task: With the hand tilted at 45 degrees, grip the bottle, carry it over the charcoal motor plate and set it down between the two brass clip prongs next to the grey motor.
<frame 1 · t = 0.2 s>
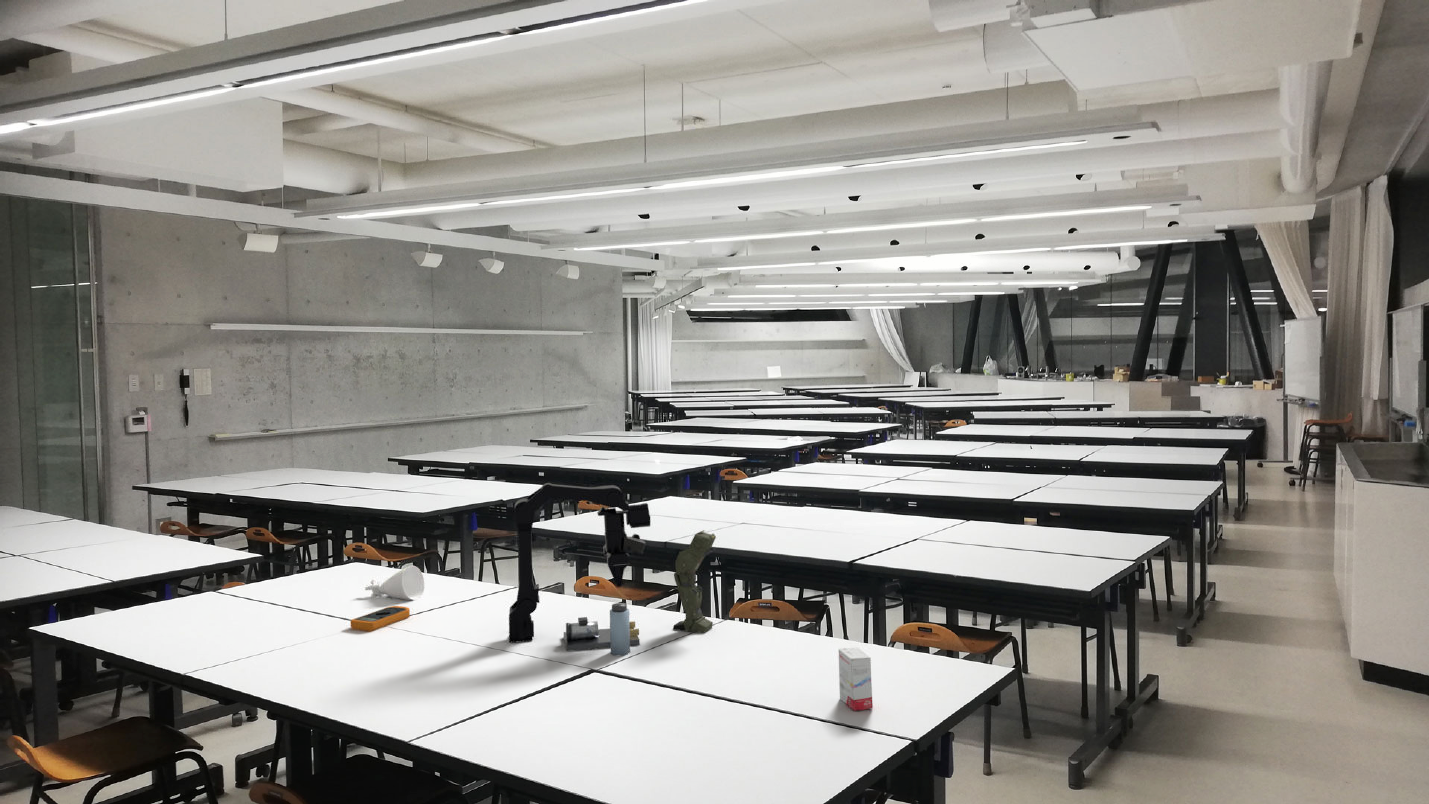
hand: (617, 582, 270), 14 cm above the table, tool pointing down, fingers open, 9 cm apart
rocket engine: (397, 597, 317), on the table
bottle: (620, 652, 251), on the table
multimeter: (381, 624, 284), on the table
motor plate: (601, 641, 262), on the table
ink box: (855, 705, 211), on the table
mechanical leg: (695, 629, 272), on the table
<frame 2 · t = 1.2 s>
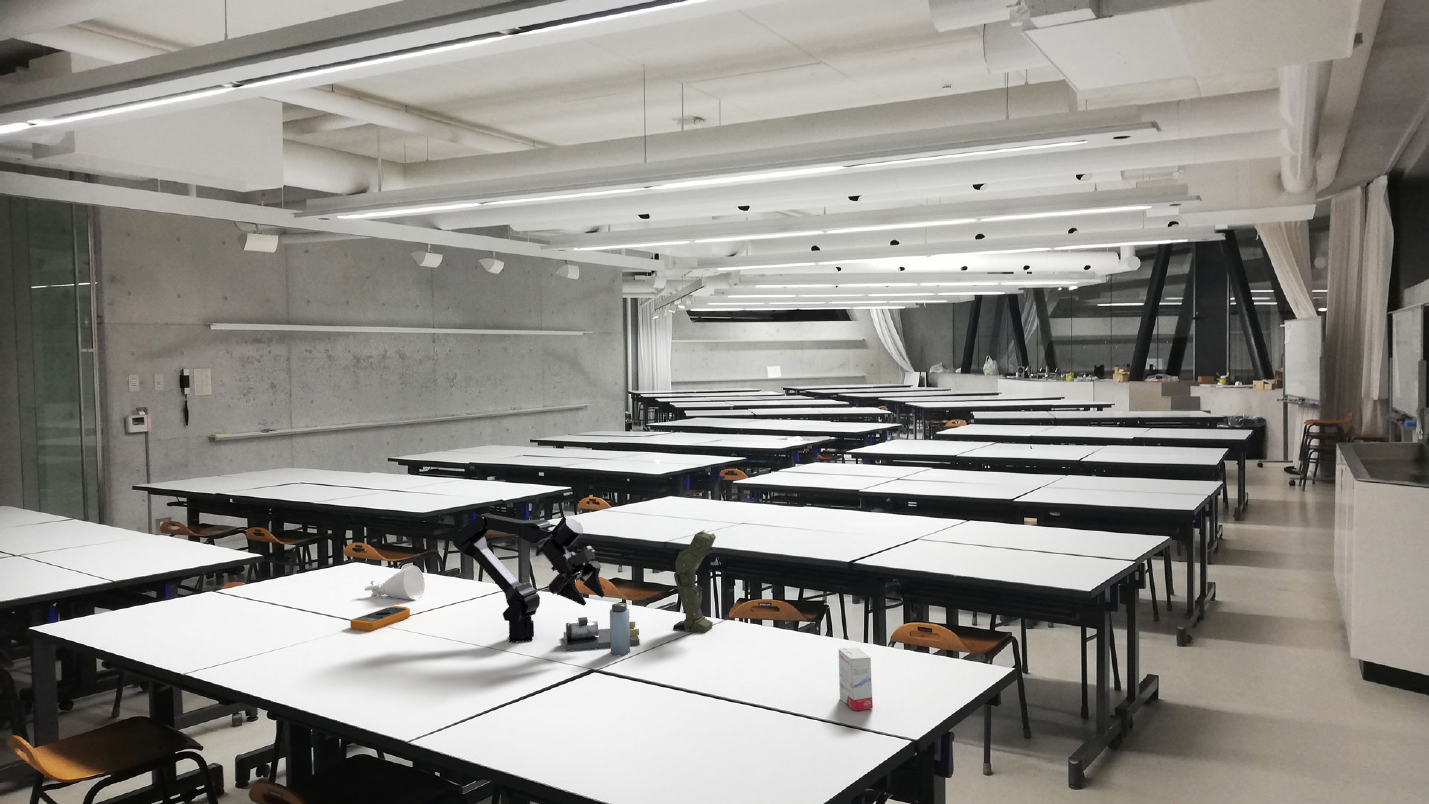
hand: (594, 600, 254), 13 cm above the table, tool tilted 45°, fingers open, 9 cm apart
nothing on the table moved.
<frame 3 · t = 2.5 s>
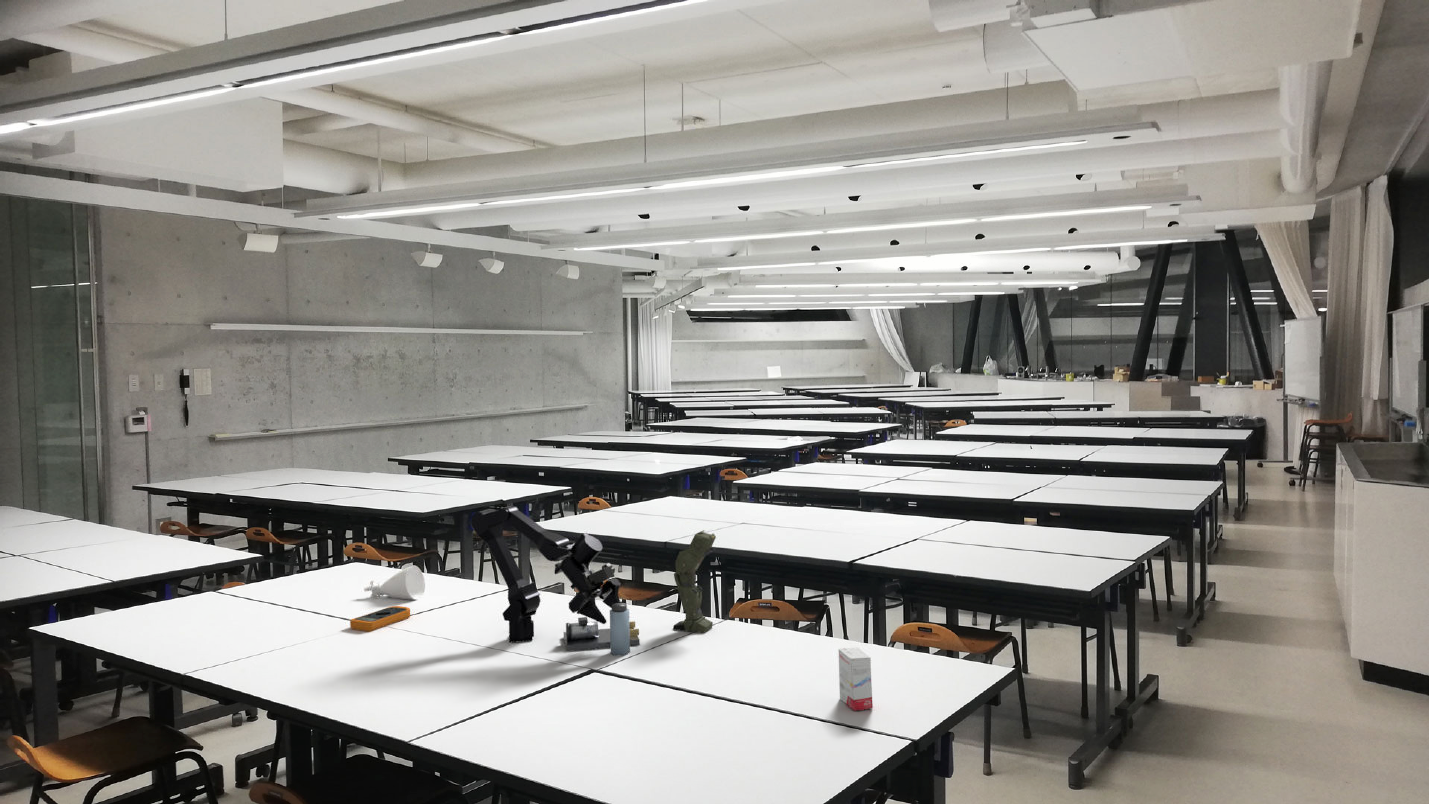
hand: (614, 618, 252), 9 cm above the table, tool tilted 45°, fingers open, 9 cm apart
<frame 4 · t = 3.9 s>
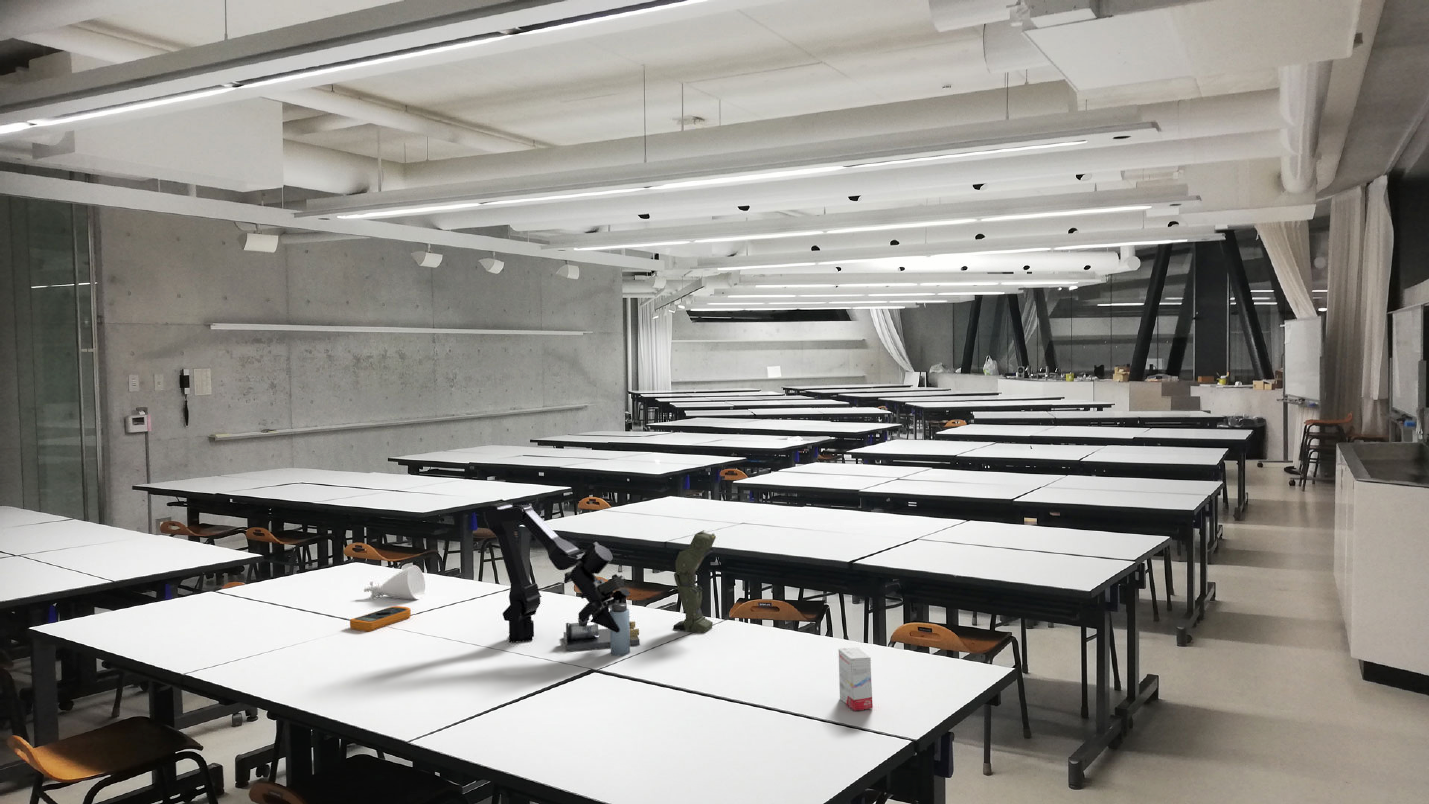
hand: (624, 628, 250), 7 cm above the table, tool tilted 45°, fingers closed on bottle, 5 cm apart
bottle: (620, 652, 251), on the table, touching gripper
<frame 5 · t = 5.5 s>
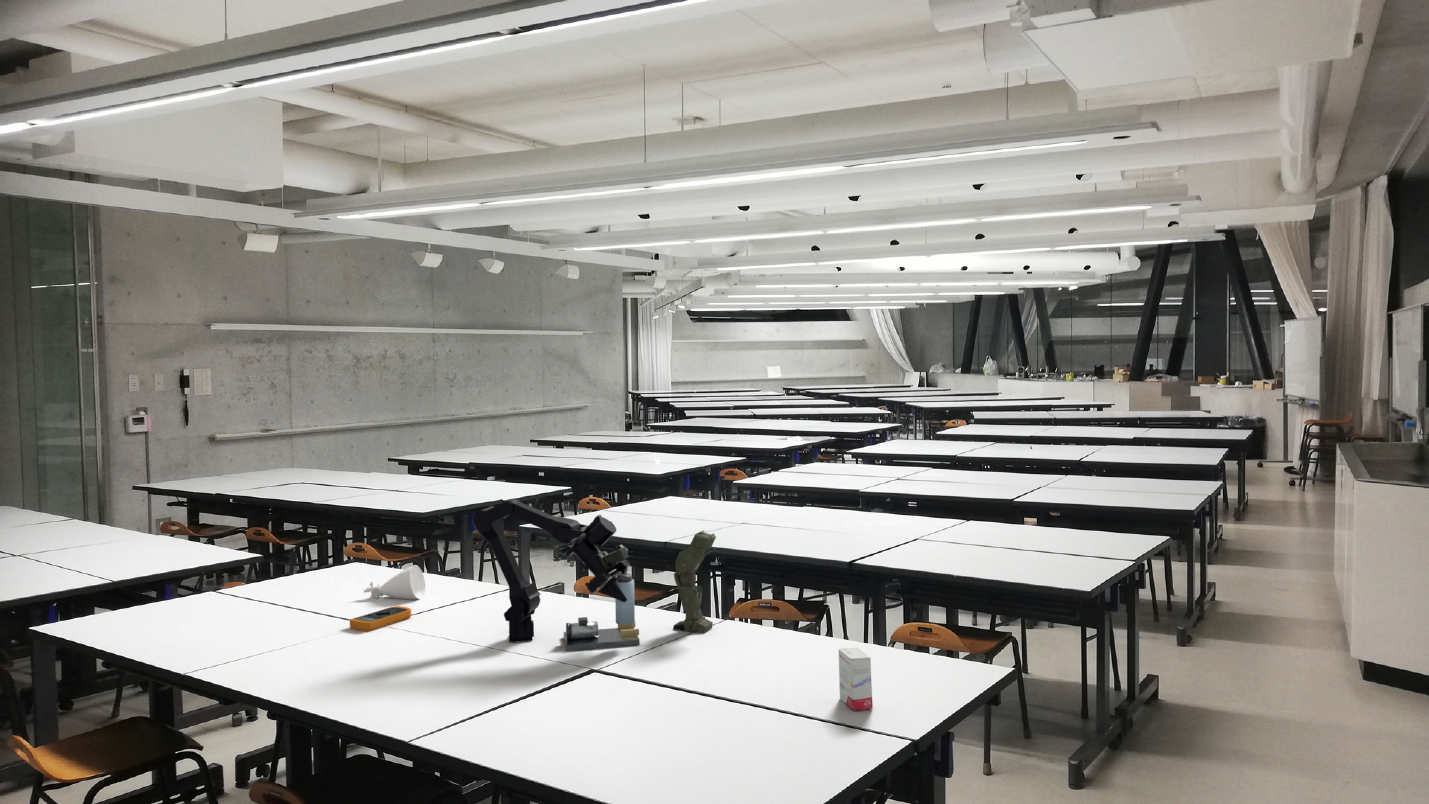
hand: (629, 598, 256), 13 cm above the table, tool tilted 45°, fingers closed on bottle, 5 cm apart
bottle: (625, 622, 256), point 7 cm above the table, touching gripper
when the fingers open (9 cm above the table, at t = 7.3 s): bottle drops 1 cm, resting on motor plate.
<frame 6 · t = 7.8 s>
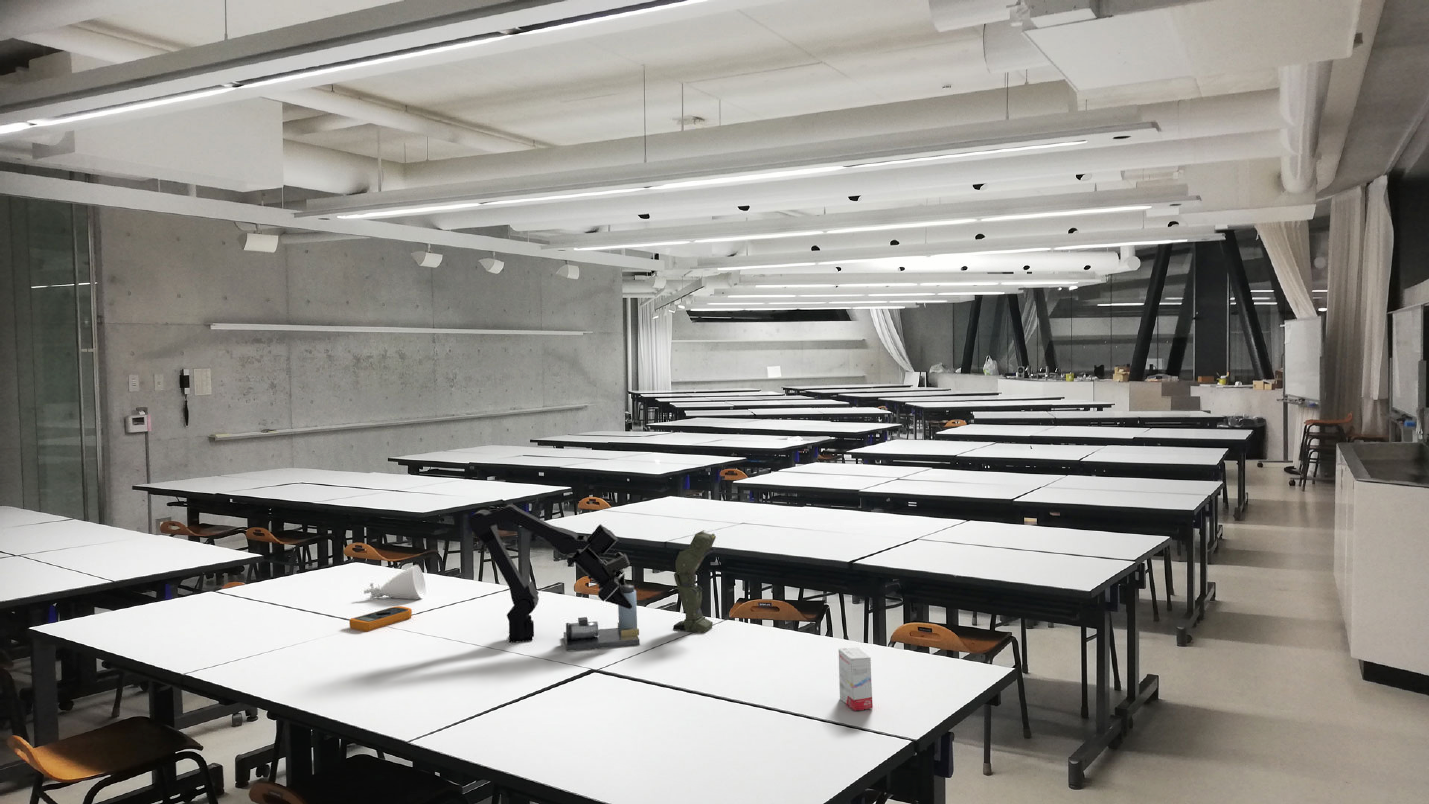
hand: (632, 603, 265), 10 cm above the table, tool tilted 45°, fingers open, 9 cm apart
bottle: (628, 631, 265), point 2 cm above the table, touching motor plate
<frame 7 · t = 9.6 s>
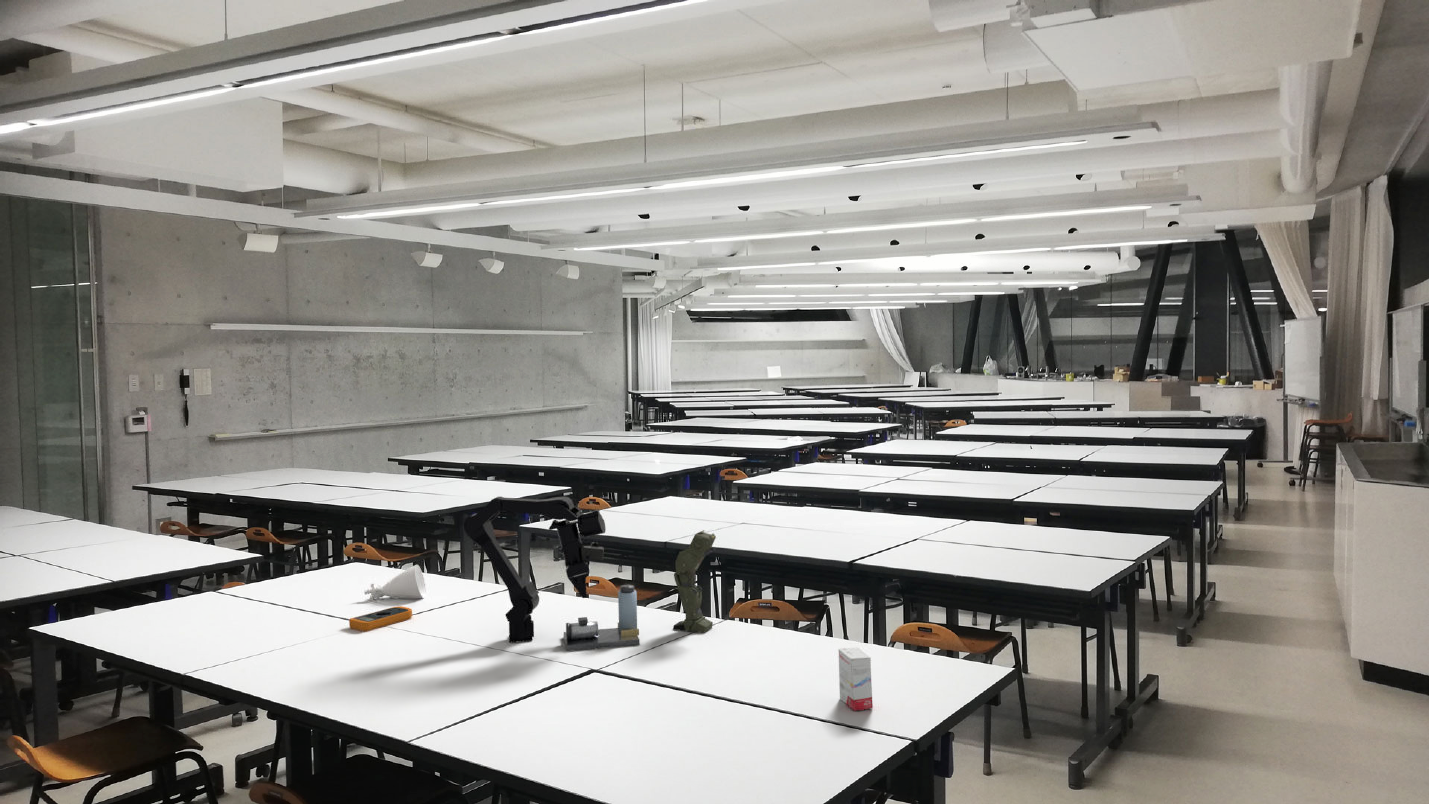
hand: (584, 594, 263), 13 cm above the table, tool pointing down, fingers open, 9 cm apart
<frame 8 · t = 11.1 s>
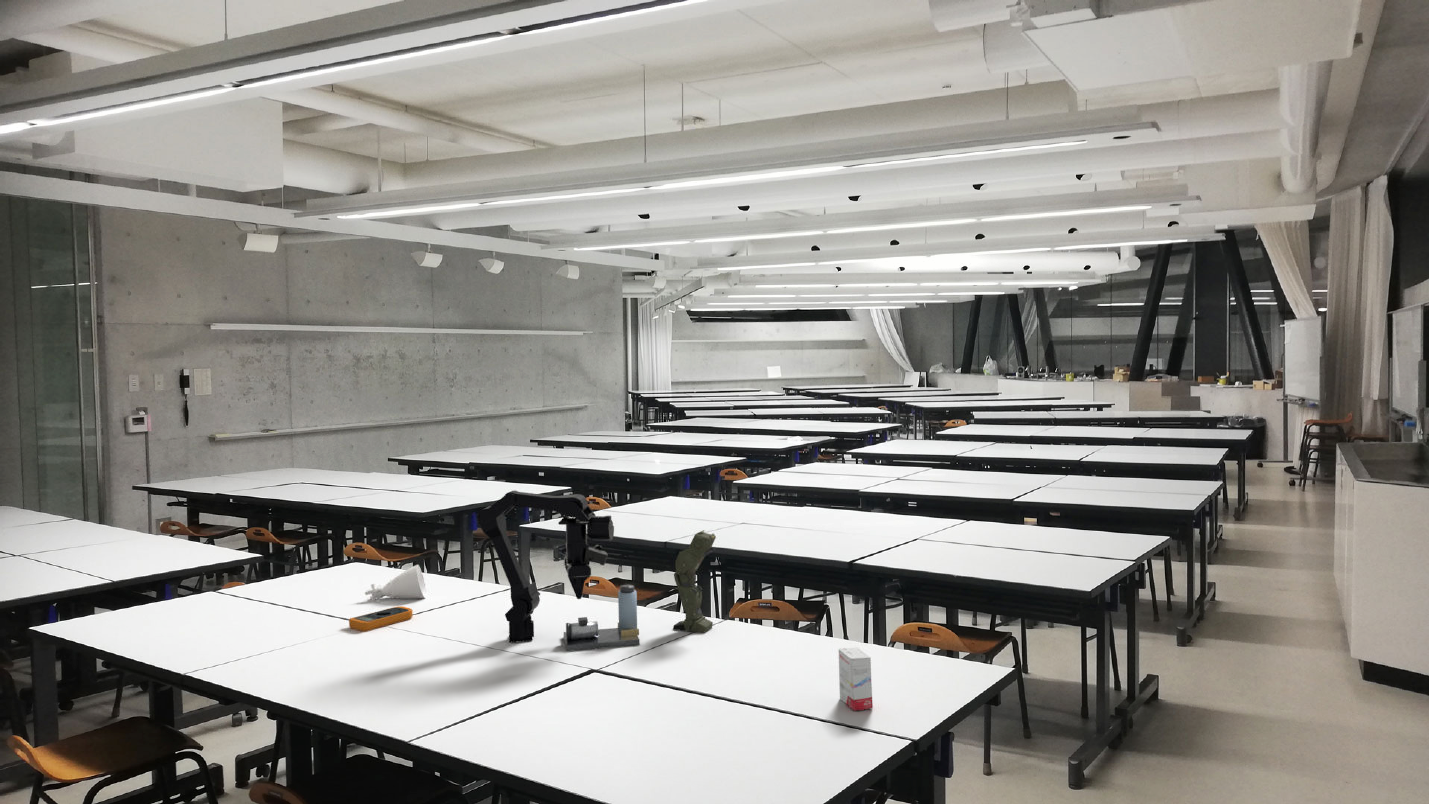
hand: (577, 594, 262), 13 cm above the table, tool pointing down, fingers open, 9 cm apart
at the end: bottle 0.0 cm from the target spot, point 1.5 cm above the table; bottle tilted 0°; the gripper is holding nothing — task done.
